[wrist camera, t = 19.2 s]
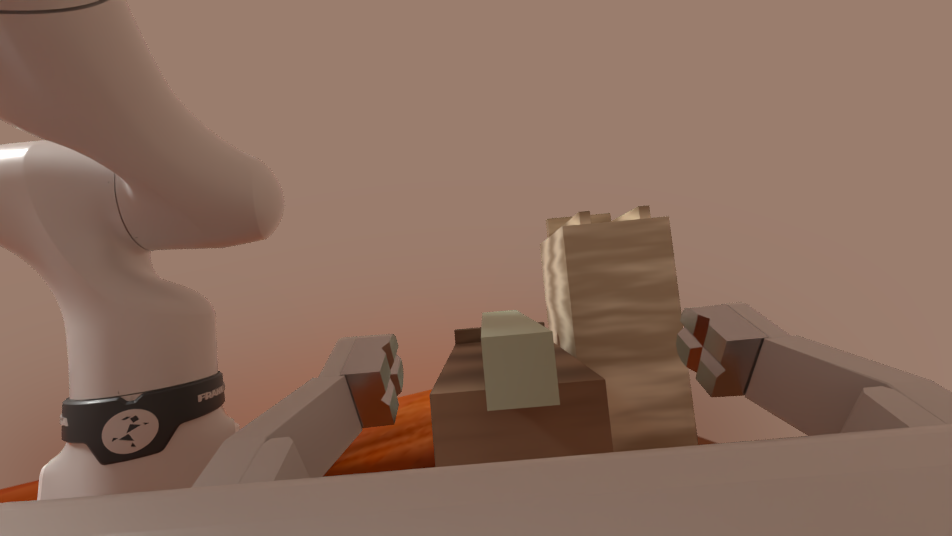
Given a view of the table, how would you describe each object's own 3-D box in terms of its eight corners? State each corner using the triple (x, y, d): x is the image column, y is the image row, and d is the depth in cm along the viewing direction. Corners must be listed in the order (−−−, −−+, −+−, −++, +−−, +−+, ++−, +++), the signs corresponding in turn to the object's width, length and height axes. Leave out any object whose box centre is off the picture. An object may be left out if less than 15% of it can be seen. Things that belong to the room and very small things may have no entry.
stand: (723, 514, 30) (679, 179, 32) (592, 525, 30) (557, 190, 32) (639, 436, 46) (613, 217, 48) (554, 443, 46) (532, 224, 48)
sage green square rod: (559, 405, 16) (552, 331, 17) (487, 410, 16) (480, 337, 17) (519, 343, 35) (515, 309, 36) (485, 346, 35) (482, 312, 36)
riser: (637, 662, 19) (602, 352, 20) (451, 676, 19) (427, 367, 20) (557, 471, 39) (542, 321, 40) (467, 479, 39) (455, 329, 40)
